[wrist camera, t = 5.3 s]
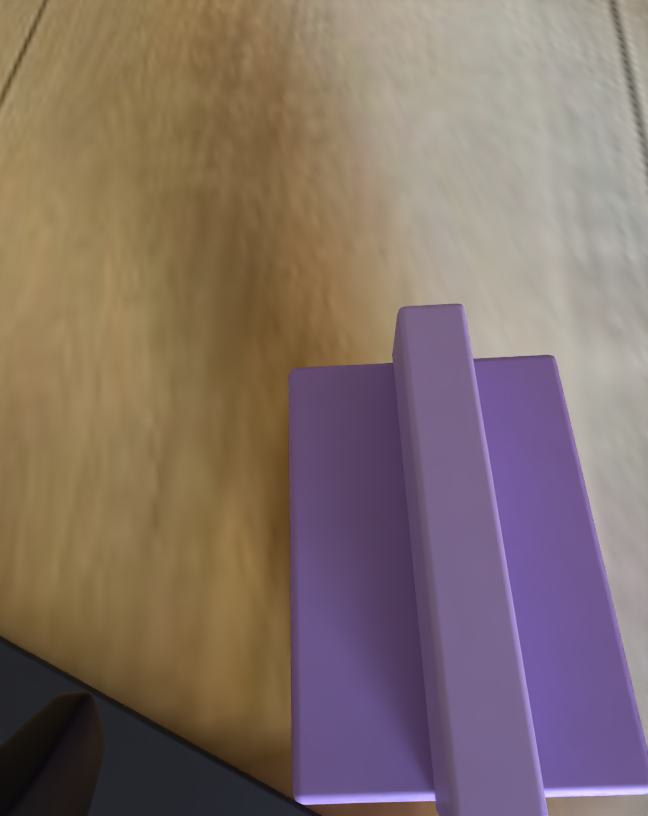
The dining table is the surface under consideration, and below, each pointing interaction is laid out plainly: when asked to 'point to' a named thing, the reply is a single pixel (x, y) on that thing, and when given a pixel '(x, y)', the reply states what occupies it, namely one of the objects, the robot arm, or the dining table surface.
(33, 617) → the dining table surface
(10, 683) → the placemat
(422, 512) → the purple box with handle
